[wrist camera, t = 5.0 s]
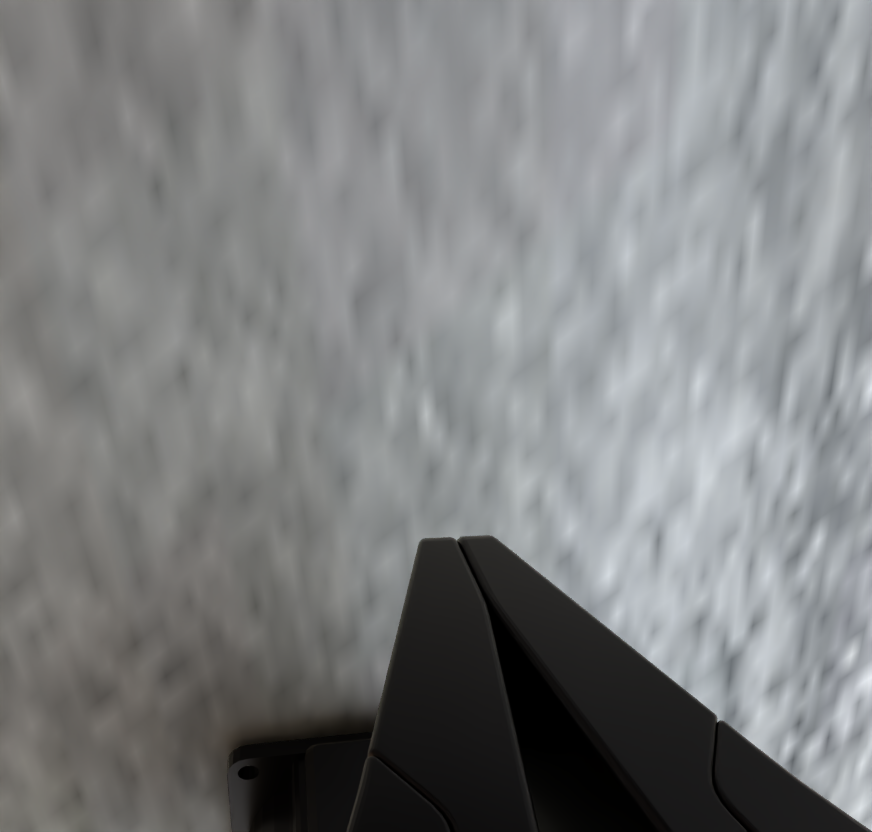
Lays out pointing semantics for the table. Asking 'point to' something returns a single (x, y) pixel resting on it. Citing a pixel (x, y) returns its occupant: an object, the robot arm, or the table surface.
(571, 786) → the robot arm
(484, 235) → the table surface
